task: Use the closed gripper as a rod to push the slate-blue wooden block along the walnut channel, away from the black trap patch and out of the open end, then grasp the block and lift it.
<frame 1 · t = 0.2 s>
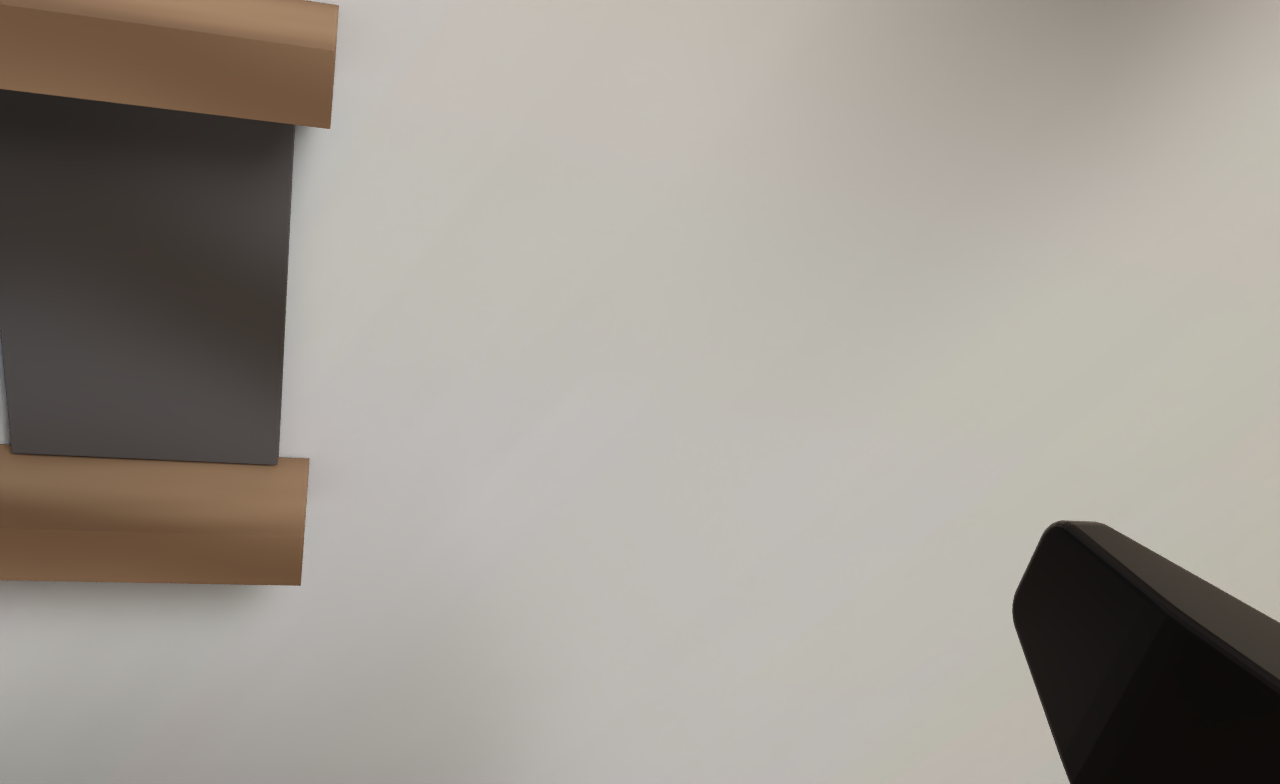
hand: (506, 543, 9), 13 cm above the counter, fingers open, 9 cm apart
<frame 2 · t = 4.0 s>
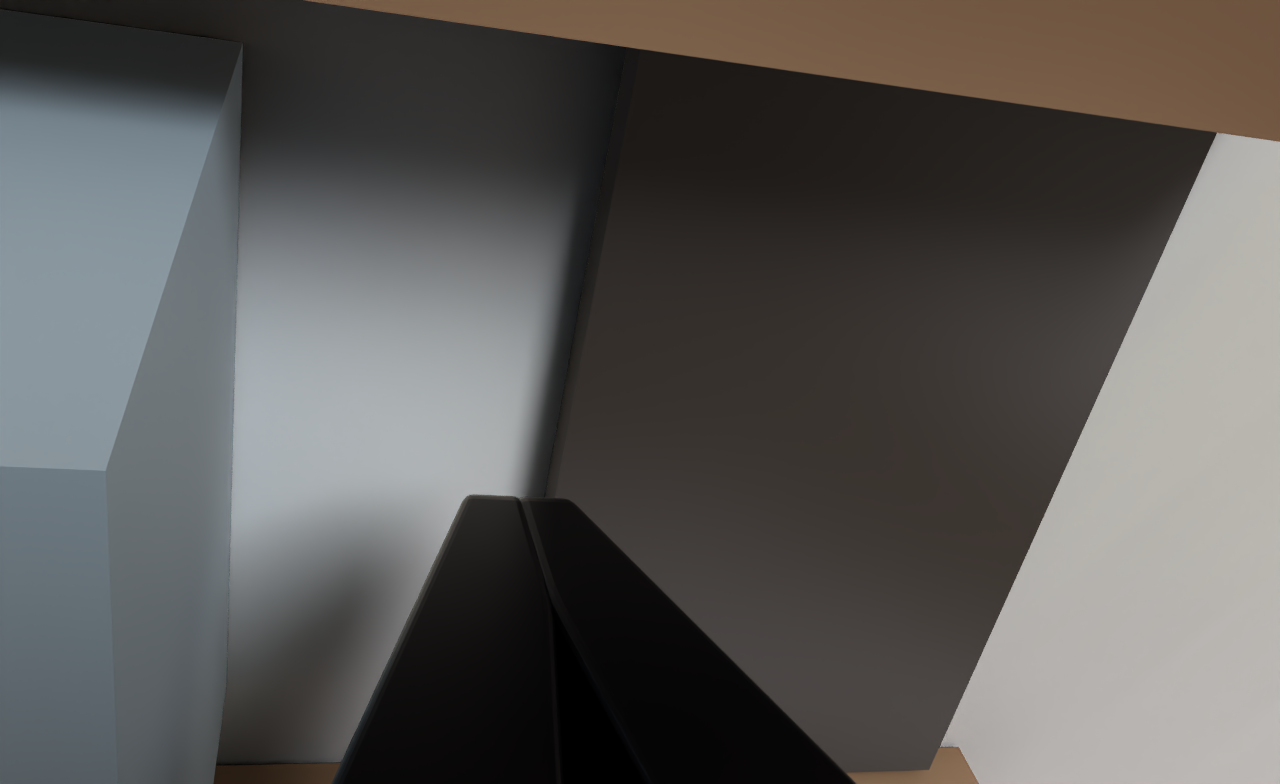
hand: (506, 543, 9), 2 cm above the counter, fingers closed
trap channel: (238, 422, 9), on the counter
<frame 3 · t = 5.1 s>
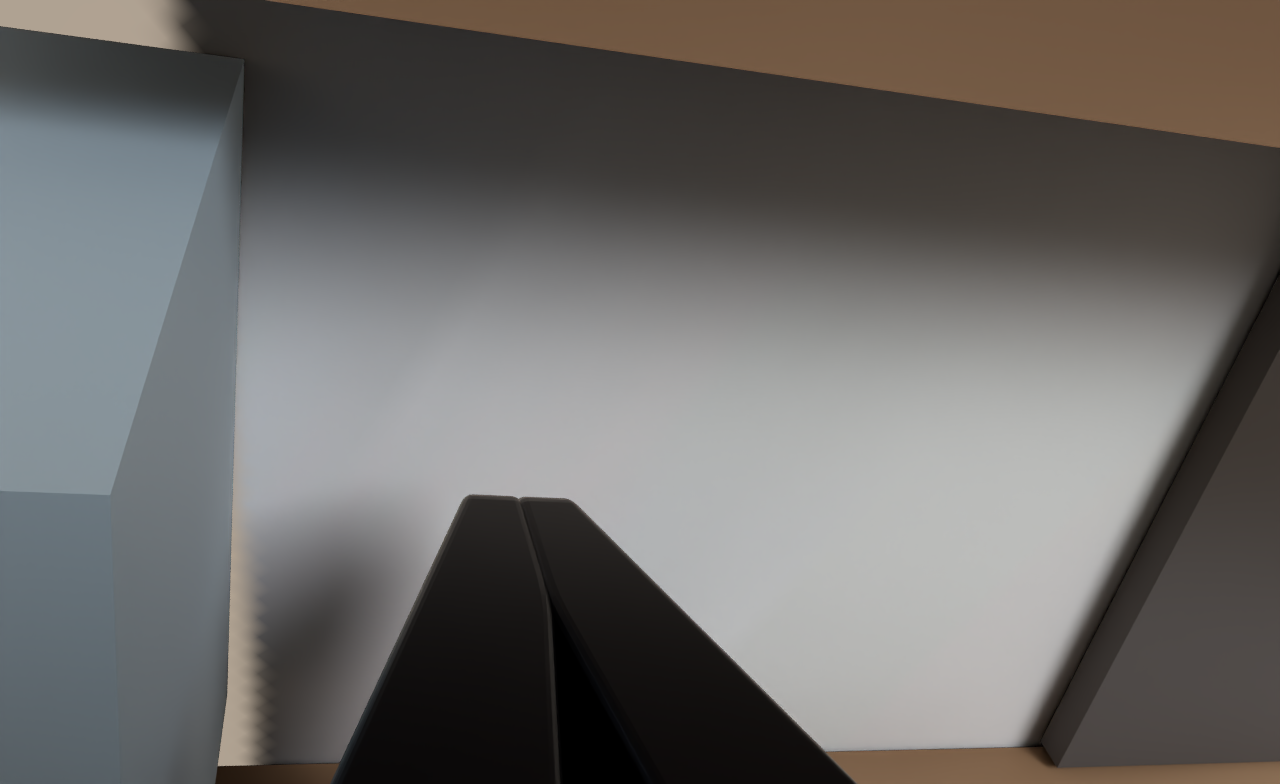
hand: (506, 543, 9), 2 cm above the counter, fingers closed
trap channel: (951, 460, 11), on the counter
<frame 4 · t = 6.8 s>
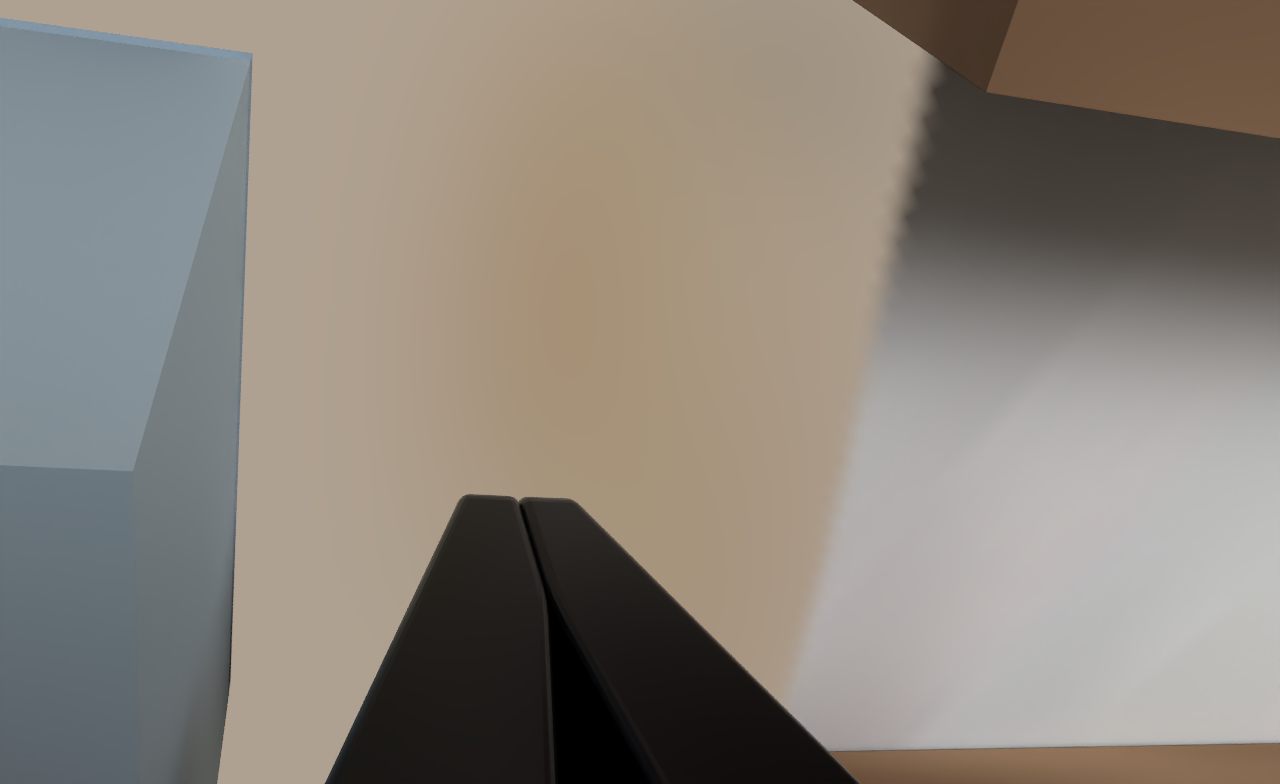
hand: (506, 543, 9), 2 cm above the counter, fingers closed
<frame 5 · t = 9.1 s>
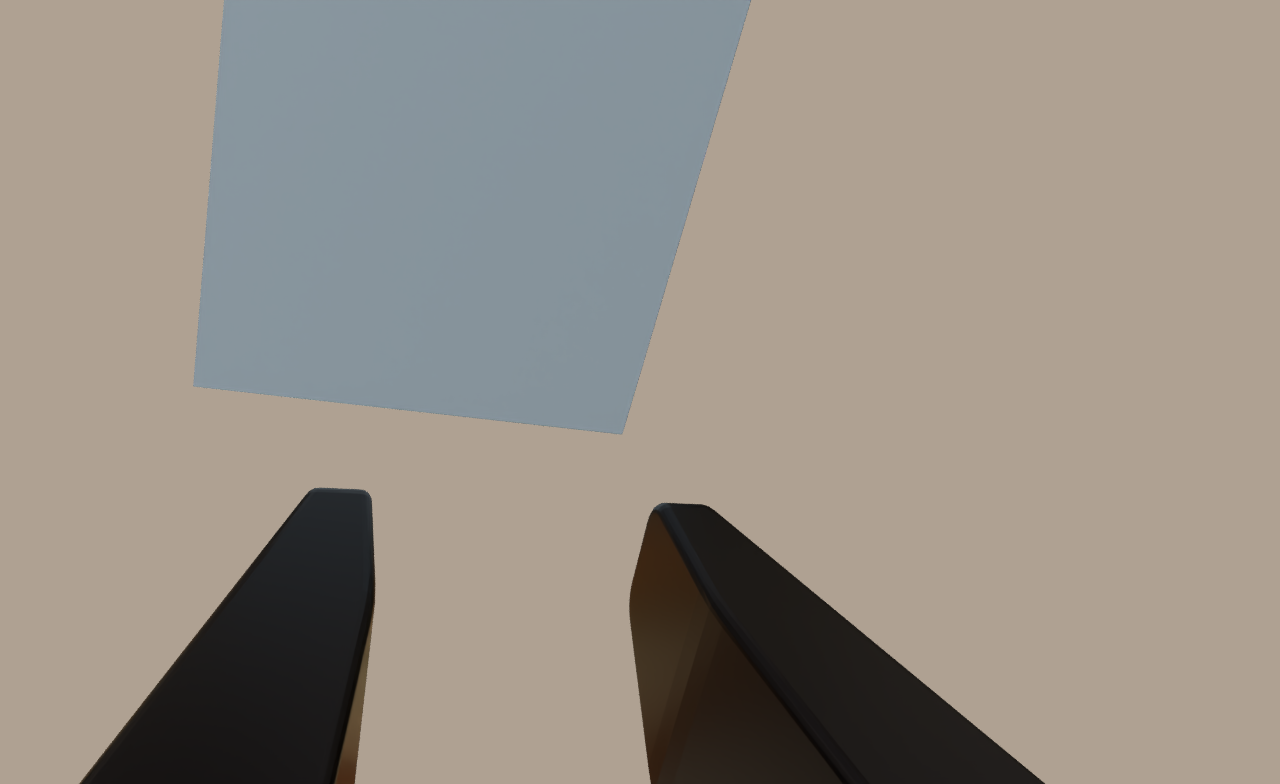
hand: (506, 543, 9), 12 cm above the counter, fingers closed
slate block: (449, 35, 19), on the counter
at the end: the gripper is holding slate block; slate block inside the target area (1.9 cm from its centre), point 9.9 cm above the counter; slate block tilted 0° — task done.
